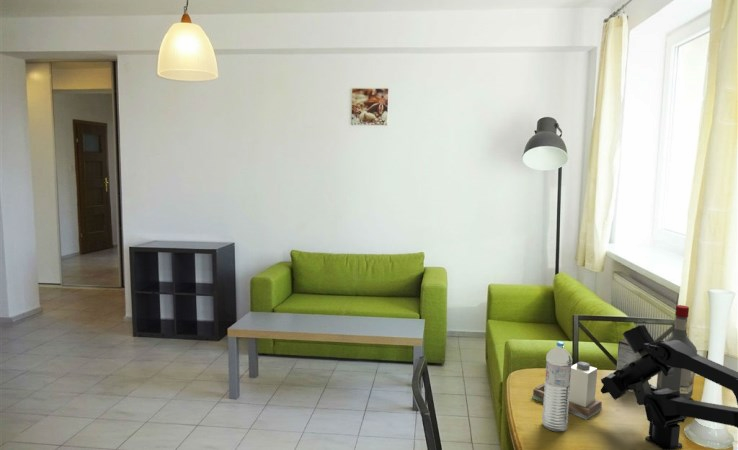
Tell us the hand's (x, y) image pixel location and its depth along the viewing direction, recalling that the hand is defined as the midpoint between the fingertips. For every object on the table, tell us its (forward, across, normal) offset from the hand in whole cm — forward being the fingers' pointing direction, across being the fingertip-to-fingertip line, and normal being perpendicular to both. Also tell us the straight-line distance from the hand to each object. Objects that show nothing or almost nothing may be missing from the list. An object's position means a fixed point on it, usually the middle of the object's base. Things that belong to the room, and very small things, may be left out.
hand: (601, 391), depth 153 cm
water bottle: (+10, -16, -2) cm, 19 cm away
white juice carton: (+9, 0, 0) cm, 9 cm away
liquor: (-1, +33, -12) cm, 36 cm away
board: (+13, 0, +2) cm, 13 cm away
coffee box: (+8, +29, -4) cm, 30 cm away
